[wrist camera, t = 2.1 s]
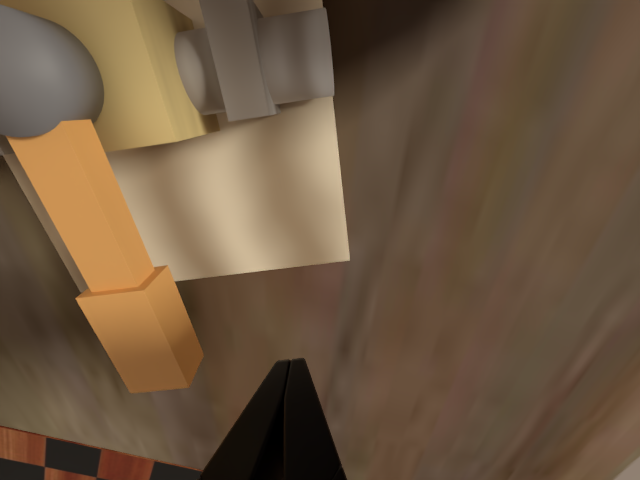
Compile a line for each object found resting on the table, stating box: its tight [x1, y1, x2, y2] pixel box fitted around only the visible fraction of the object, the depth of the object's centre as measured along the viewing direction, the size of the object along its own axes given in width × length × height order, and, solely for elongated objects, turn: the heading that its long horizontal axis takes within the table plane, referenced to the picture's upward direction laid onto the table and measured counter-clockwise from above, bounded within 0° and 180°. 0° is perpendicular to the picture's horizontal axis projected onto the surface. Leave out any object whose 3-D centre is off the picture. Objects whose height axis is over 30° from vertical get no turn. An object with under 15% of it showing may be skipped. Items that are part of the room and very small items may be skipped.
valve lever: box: [0, 4, 204, 393], centre depth 11 cm, size 3×14×2 cm, turn 8°
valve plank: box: [0, 0, 350, 292], centre depth 14 cm, size 18×16×7 cm
